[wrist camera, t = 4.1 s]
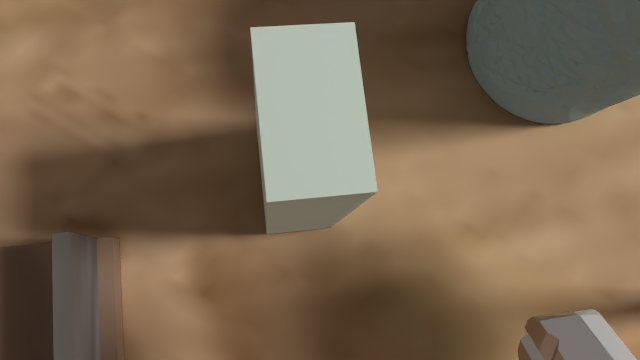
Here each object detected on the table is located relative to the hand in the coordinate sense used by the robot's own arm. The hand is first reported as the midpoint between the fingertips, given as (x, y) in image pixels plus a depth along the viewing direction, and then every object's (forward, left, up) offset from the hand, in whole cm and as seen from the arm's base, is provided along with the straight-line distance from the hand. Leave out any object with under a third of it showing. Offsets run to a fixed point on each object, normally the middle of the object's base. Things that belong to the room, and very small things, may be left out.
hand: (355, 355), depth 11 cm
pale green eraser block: (0, +6, -11) cm, 13 cm away
